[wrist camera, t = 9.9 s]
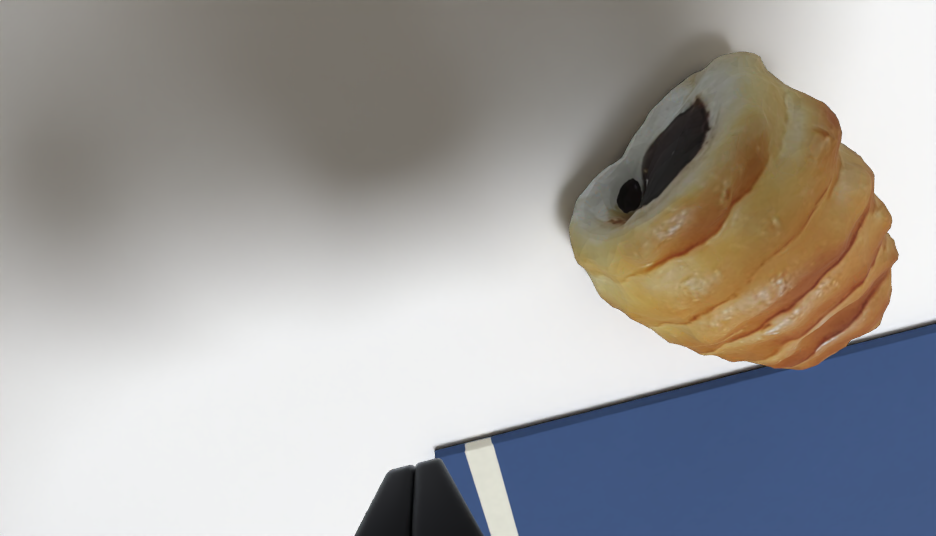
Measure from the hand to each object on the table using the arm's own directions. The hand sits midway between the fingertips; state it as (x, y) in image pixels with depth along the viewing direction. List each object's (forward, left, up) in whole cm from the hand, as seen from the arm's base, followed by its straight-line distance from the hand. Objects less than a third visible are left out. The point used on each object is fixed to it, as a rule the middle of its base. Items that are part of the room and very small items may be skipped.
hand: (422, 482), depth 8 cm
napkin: (-13, -10, -7) cm, 18 cm away
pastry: (-1, -9, -8) cm, 12 cm away
